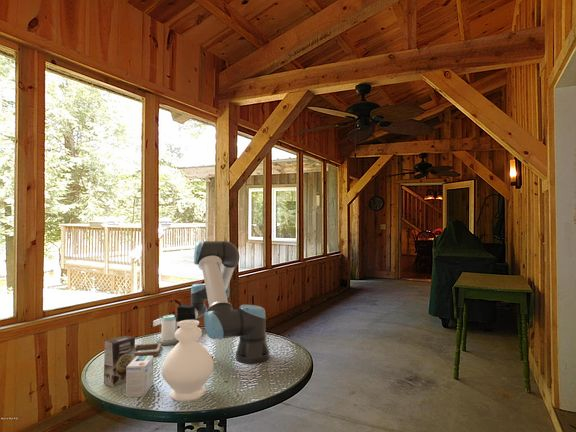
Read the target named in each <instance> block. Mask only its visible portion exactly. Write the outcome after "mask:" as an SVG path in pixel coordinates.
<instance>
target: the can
mask: <svg viewBox="0 0 576 432" xmlns="http://www.w3.org/2000/svg"><path fill="white" fill-rule="evenodd" d="M174 315H175V314H174ZM174 315H171V314H166V315H163V318H162V324H161V332H160V333H161V334H160V335H161V337H160V338H161V339H162V340H163V341H172V340H174V339H175V332H176V330H177V329H176V323H177V322H176V318H175V316H174Z"/></svg>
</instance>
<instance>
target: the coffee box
mask: <svg viewBox="0 0 576 432" xmlns="http://www.w3.org/2000/svg"><path fill="white" fill-rule="evenodd" d="M135 345H136V337H135V336H129V335H122V336H118V337H114V338H111V339H107V340H104V354H103V355H104V359H103V384H105V385H107V386H109V387H111V388H113V387H114V388H115V387H117V386H119V385H123V384H126V367H127V366H128V365H129V364H130V363H131V361H132V360H133V359H134V358H135Z"/></svg>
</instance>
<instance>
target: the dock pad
mask: <svg viewBox="0 0 576 432" xmlns="http://www.w3.org/2000/svg"><path fill="white" fill-rule="evenodd" d="M155 343H161V347H162V346H167V347H168V346H174V345H175V346H176V345H177V339H176V338H175V339H174V340H172V341H163V340H162V339H161V337H160V338H158V339H156V342H155Z"/></svg>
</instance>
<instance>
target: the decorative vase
mask: <svg viewBox="0 0 576 432" xmlns="http://www.w3.org/2000/svg"><path fill="white" fill-rule="evenodd" d="M177 323H178V326H179V327H180V328H179V329H176V332H175V338H176V339H177V340H178V341H179V343H178V344H175V346H173V348H171V350H170V351H169V352H168V353H167V355H166V357H165V358H164V360H163V363H162V365H161V375H162V378H163V379H164V381H165V382H166V383H167V385H169V386H170V388H171V390H169V395H168V396H169V398H170V399H172V400H173V401H177V402H189V401H194V400H197V399H200V398H201V397H203V396H204V395H205V394H206V393H207V389H206V387H205V386H204V385H205V384H206V382H207V381H208V379H209V378H210V377H211V375H212V373H213V371H214V360H213V357H212V355H211V353H210V352H209V350H208V349H207V348H206V347H205V346H204V345H203V344H202V343H200V341H199V339H200V338H201V336H203V335H202V334H203V331H202V329H201V328H200V327H198V326H199V325H200V320H197V319H196V320H183V321H180V322H178V321H177Z"/></svg>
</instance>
